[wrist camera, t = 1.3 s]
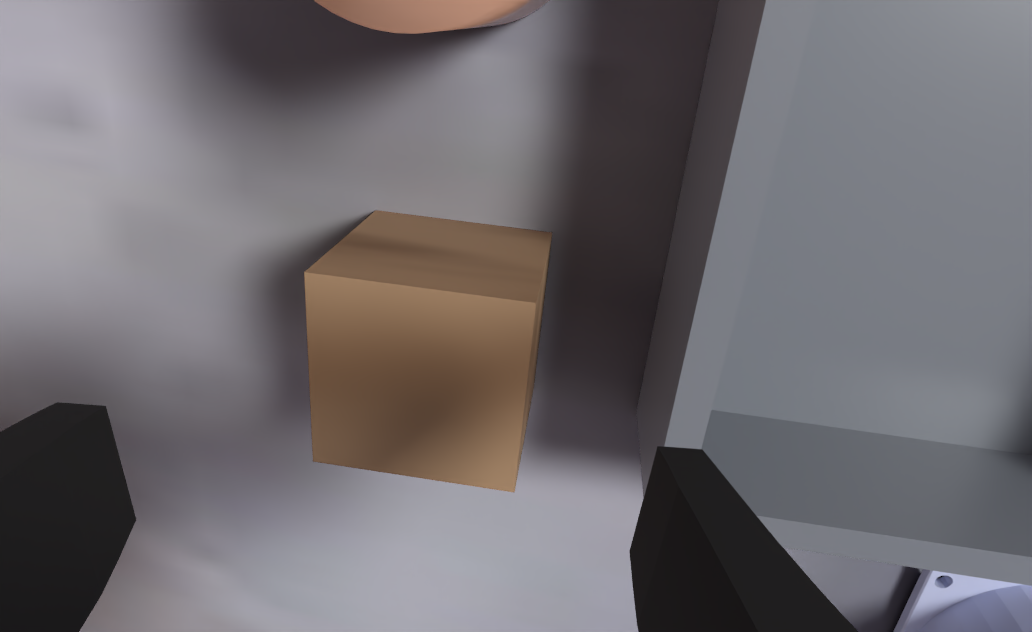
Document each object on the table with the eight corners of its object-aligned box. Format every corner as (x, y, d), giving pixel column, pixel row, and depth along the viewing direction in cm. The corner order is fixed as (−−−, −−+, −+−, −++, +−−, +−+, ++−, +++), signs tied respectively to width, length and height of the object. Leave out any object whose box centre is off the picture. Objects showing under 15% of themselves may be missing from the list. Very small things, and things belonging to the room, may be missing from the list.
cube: (533, 386, 20) (514, 492, 16) (376, 364, 21) (312, 461, 16) (552, 231, 18) (536, 303, 14) (376, 209, 19) (304, 272, 14)
